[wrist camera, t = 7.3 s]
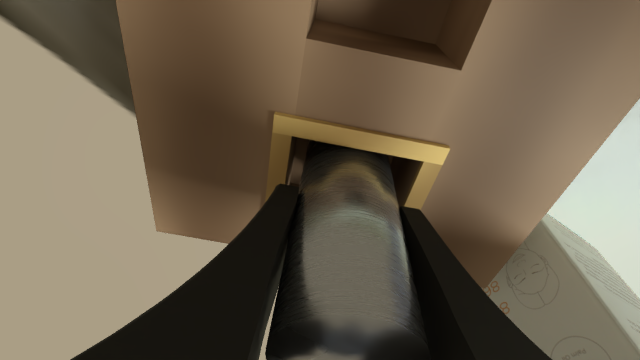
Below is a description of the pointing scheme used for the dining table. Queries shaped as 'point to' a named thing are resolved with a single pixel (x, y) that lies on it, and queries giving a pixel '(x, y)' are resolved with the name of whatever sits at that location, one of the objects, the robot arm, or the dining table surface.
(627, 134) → the dining table surface
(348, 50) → the board
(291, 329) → the pin
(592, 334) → the small box
